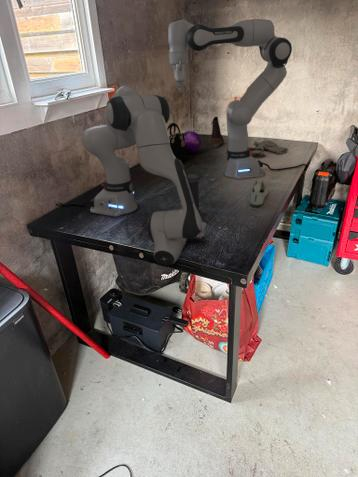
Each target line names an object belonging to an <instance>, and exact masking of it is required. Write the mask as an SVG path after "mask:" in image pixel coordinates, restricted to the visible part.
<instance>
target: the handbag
mask: <svg viewBox="0 0 358 477" xmlns="http://www.w3.org/2000/svg"><path fill="white" fill-rule="evenodd" d="M172 129H173V132H172ZM167 130H168V133H169V140H170V147H171V150H172V153H173V155H174V156H175V158H176V159H178V160H180V161H181V162H182V163H183V162H184V161H186V160H188V153H187V152H186V145H185V143H186V142H185V138H184V133H185V132H181V129H180V127H179V125H178V124H177V123H176V122H171V123H170V124H169V125H168V126H167ZM176 130H177V131H178V132H177V133H176Z"/></svg>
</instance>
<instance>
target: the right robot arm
mask: <svg viewBox="0 0 358 477" xmlns="http://www.w3.org/2000/svg"><path fill="white" fill-rule="evenodd" d="M167 29H168V30H167V38H168V39H167V40H168V45H169V51H168V55H169V57H168V58H169V64H170V65H172V69H173V70H172V71H173V76H174V80H175V81H176V86H177V90H178V91H179V93H181V92H184V82H185V81H186V72H185V67H186V64H188V63H189V57H188V56H189V53H188V50H193V51H196V52H201V51H204V50H205V49H206V48H209V47H210V46H214V45H222V44H231V45H233V46H235V47H240V48H250V47H258V48H259V54H260V57H261V59H262V60H263V61H264V62H267V63H266V66H265V68H264V70H263V71H261V73H260V74H259V75H258V76H257V77H256V78H255V79H254V80H253V81H252V83H250V85H249V86H247V88H246V91H245V92H244V93H243V95H242V96H241V98H240V99H239V100H237V99H235V100H233V101H231V102H229V103H228V105H227V107H226V112H225V114H226V128H227V129H226V130H227V131H226V132H227V149H226V152H225V153H226V154H225V159H226V165H225V169H224V172H223V174H224V176H225V177H228V178H232V179H233V178H234V179H237V180H243V179H250V178H258V177H259V178H260V177H263V176H264V175H265V172H264V169H262V168H263V167H264V166H266V167H267V168H268V170H270V171H276V172H277V171H285V170H291V169H297V168H299V167H303V166H305V167H306V168H309V165H308V164H306V163H301V164H298V165H293V166H289V167H281V168H272V167H271V166H270V165H269V164H267V163H266V162H263V161H261V160H259V159H258V160H257V159H256V158H255V157H254V156H253V157H252V156H250V155H252V154H253V152H252V151H251V150H249V149H247V147H249V144H248V143H249V132H248V125H249V124H250V123H251V122H252V119H253V117H254V116H255V114H256V113H257V112H258V111H259V109H260V108H261V106H262V105H263V103H265V101H266V100H268V98H269V97H270V96H272V94H273V93H274V92H275V91H276V90H278V88H279V87H280V85H281V84H282V83H283V81H284V80H285V78H286V76H287V73H288V71H287V67H286V66H287V64H288V61H289V59H290V57H291V55H292V52H293V46H292V43H291V41H290V40H289V39H287V38H285V37H280V36H276V34H275V25H274V23H273V21H272V20H270V19H265V18H251V19H244V20H240V21H238V22H235V23H234V24H232V25H229V26H223V27H222V26H221V27H208V26H206V25H204V24H201V23H200V24H198V23H197V24H193V23H190V22H189V21H187V20H186V19H185V18H178V19H177V18H176V19H174V20H172V21H171V22H169V24H168V28H167Z"/></svg>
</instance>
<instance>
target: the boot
mask: <svg viewBox="0 0 358 477" xmlns="http://www.w3.org/2000/svg"><path fill="white" fill-rule="evenodd" d="M211 125H212V126H211V127H212V129H211V130H212V131H211V134H210V135H211V143H212V146H213V148H214V149H215V148H218V147H219V146H221V145H222V144H224V143H225V139H224V137H223V135H222V133H221V128H220V122H219V116H214V117H213V118H212V121H211Z"/></svg>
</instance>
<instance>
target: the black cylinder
mask: <svg viewBox="0 0 358 477" xmlns="http://www.w3.org/2000/svg"><path fill="white" fill-rule="evenodd" d="M189 183H190V182H189ZM190 186H191V189H192V193H193V196H194V200H195V203H196V206H197V208H198V211H199V212H200V201H199V200H200V199H199V196H200V195H199V194H200V193H199V181H198V182H194V183H190Z"/></svg>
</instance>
